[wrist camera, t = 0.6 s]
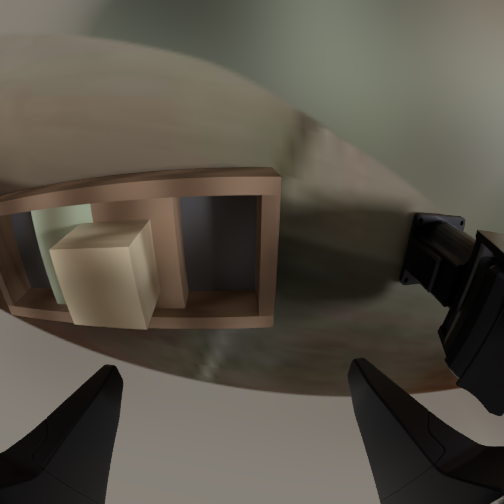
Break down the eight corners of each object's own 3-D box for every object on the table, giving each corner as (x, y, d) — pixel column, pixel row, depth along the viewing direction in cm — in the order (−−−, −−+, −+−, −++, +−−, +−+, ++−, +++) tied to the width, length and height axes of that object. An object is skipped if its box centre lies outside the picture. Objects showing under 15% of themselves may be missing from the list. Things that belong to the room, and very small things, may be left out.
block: (150, 219, 16) (128, 247, 12) (160, 290, 18) (147, 329, 14) (80, 223, 15) (49, 249, 12) (97, 289, 17) (74, 324, 14)
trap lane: (271, 167, 17) (281, 176, 14) (267, 297, 22) (273, 326, 18) (2, 195, 16) (-24, 207, 13) (29, 293, 20) (11, 314, 17)
